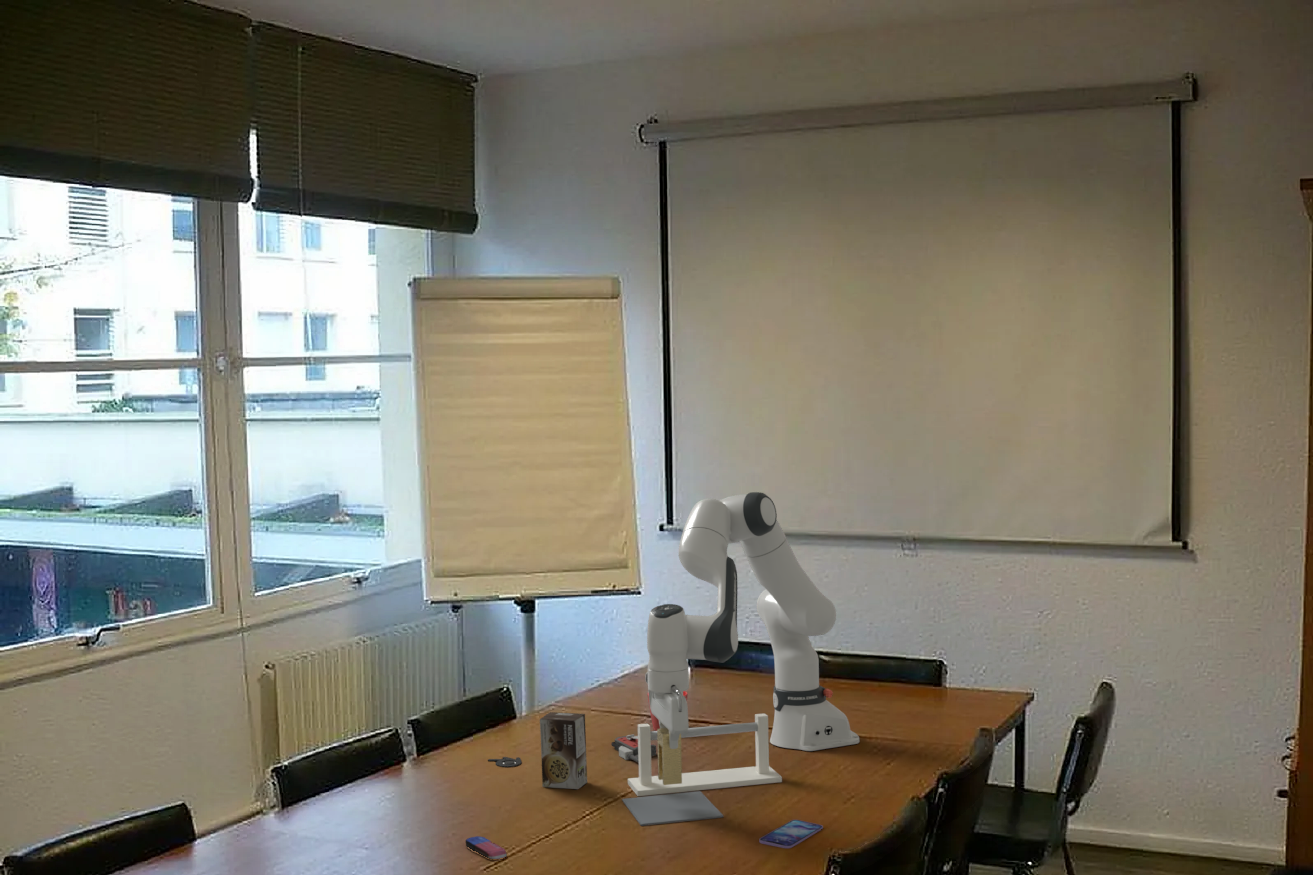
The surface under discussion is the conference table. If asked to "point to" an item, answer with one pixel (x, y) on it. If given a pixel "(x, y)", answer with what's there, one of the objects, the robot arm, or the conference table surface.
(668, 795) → the rubber mat
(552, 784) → the coffee box
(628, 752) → the walkie-talkie
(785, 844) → the smartphone
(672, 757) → the c-link
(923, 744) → the conference table surface
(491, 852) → the eraser
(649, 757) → the rod stand
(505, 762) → the dark grey flat piece
